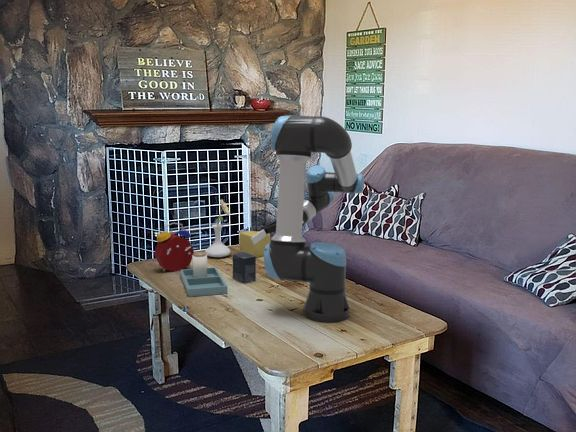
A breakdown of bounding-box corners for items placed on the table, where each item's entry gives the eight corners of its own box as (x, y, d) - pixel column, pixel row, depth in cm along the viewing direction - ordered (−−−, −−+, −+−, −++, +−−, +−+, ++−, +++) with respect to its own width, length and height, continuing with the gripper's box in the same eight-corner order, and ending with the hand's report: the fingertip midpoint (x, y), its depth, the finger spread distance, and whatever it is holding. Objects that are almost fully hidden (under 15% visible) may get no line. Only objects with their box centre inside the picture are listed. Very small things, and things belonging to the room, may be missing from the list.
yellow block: (257, 250, 271) (257, 228, 269) (271, 255, 263) (271, 233, 260) (238, 253, 264) (238, 232, 262) (252, 259, 256) (253, 236, 254)
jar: (208, 279, 225) (208, 254, 223) (193, 280, 224) (193, 255, 222) (206, 274, 231) (205, 250, 229) (191, 276, 229) (191, 251, 227)
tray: (227, 294, 211) (227, 286, 211) (188, 297, 207) (188, 289, 207) (216, 274, 234) (215, 267, 233) (180, 276, 230) (180, 269, 229)
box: (256, 282, 225) (256, 255, 223) (243, 285, 221) (243, 258, 219) (244, 277, 231) (244, 251, 228) (232, 280, 227) (232, 253, 225)
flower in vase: (222, 260, 252) (221, 203, 247) (200, 257, 257) (199, 201, 252) (237, 253, 264) (237, 198, 259) (215, 250, 269) (215, 196, 264)
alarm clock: (188, 265, 244) (187, 219, 240) (197, 271, 237) (196, 223, 233) (154, 271, 236) (152, 223, 232) (162, 277, 229) (160, 227, 225)
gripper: (325, 223, 221) (286, 254, 210) (286, 220, 241) (248, 248, 230) (318, 206, 218) (277, 236, 208) (279, 204, 238) (240, 232, 228)
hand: (262, 242), depth 219 cm, fingers open, 13 cm apart
